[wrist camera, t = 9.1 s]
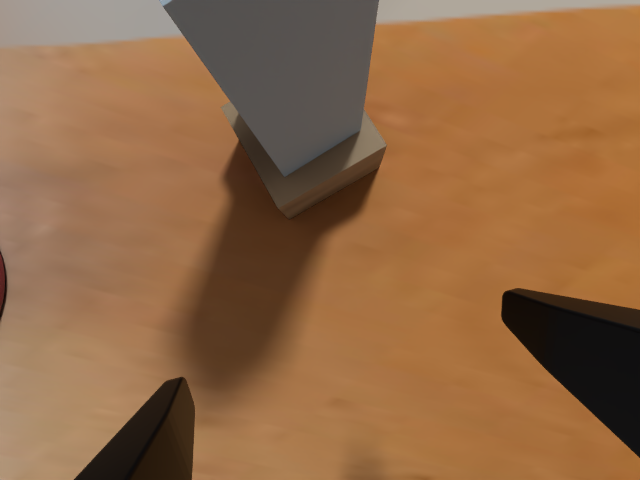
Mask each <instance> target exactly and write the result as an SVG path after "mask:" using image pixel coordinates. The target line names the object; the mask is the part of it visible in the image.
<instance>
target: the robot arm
mask: <svg viewBox="0 0 640 480" xmlns="http://www.w3.org/2000/svg"><path fill="white" fill-rule="evenodd" d="M501 317H502V320H503V322H504V324H505V325H506V326H507V327H508V328H509V330H510V331H511V332H512V333H513V334H514V335H515V336H516V337H517V338H518V340H519V341H520V342H521V343H522V344H523V345H524V346H525V347H526V348H527V350H528V351H529V352H530V353H531V354H532V355H533V356H534V357H535V358H536V360H537V361H538V362H539V363H540V364H541V365H542V366H543V367H544V368H545V369H546V370H547V371H548V372H549V373H550V374H551V375H552V376H553V377H554V378H556V379H557V380H558V381H559V382H560V383H561V384H562V385H563V386H564V387H565V388H566V389H567V390H568V391H569V392H570V393H571V394H572V395H574V396H575V397H576V398H577V399H578V400H579V401H580V402H581V403H582V404H583V405H584V406H585V407H586V408H587V409H588V410H589V411H591V412H592V413H593V414H594V415H595V416H596V417H597V418H598V419H599V420H600V421H601V422H602V423H603V424H604V425H605V426H606V427H608V428H609V429H610V430H611V431H612V432H613V433H614V434H615V435H616V436H617V437H618V438H619V439H620V440H621V441H622V442H623V443H625V444H626V445H627V446H628V447H629V448H630V449H631V450H632V451H633V452H634V453H635V454H636V455H637V456H638V457H639V458H640V310H638V309H632V308H627V307H621V306H615V305H610V304H604V303H599V302H593V301H588V300H582V299H576V298H571V297H565V296H560V295H554V294H549V293H543V292H537V291H532V290H526V289H521V288H515V289H512V290H508V291H505V292H504V293H503V296H502V311H501ZM194 422H195V407H194V402H193V399H192V396H191V393H190V390H189V387H188V384H187V381H186V379H185V378H184V377H179V378H175V379H171V380H168V381H166V382H165V383H163V384H162V386H161V387H160V388H159V389H158V390H157V391H156V392H155V393H154V394H153V395H152V396H151V397H150V398H149V400H148V401H147V402H146V403H145V404H144V405H143V406H142V407H141V408H140V409H139V410H138V411H137V412H136V413H135V415H134V416H133V417H132V418H131V419H130V420H129V421H128V422H127V423H126V424H125V425H124V426H123V427H122V429H121V430H120V431H119V432H118V433H117V434H116V435H115V436H114V437H113V438H112V439H111V440H110V441H109V442H108V444H107V445H106V446H105V447H104V448H103V449H102V450H101V451H100V452H99V453H98V454H97V455H96V456H95V457H94V459H93V460H92V461H91V462H90V463H89V464H88V465H87V466H86V467H85V468H84V469H83V470H82V471H81V473H80V474H79V475H78V476H77V477H76V478H75V479H74V480H192V467H193V444H194Z"/></svg>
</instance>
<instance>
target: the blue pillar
mask: <svg viewBox="0 0 640 480" xmlns="http://www.w3.org/2000/svg"><path fill="white" fill-rule="evenodd" d="M159 1H160V2H161V4H162V6H163V7H164V9H165V10H166V11H167V13H168V14H169V16H170V17H171V18H172V20H173V21H174V23H175V24H176V25H177V27H178V28H179V30H180V31H181V32H182V34H183V35H184V37H185V38H186V39H187V41H188V42H189V44H190V45H191V46H192V48H193V49H194V51H195V52H196V54H197V55H198V56H199V58H200V59H201V61H202V62H203V63H204V65H205V66H206V68H207V69H208V70H209V72H210V73H211V75H212V76H213V77H214V79H215V80H216V82H217V83H218V84H219V86H220V87H221V89H222V90H223V91H224V93H225V94H226V96H227V97H228V98H229V100H230V101H231V103H232V104H233V105H234V107H235V108H236V110H237V111H238V113H239V114H240V115H241V117H242V118H243V120H244V121H245V122H246V124H247V125H248V127H249V128H250V129H251V131H252V132H253V134H254V135H255V136H256V138H257V139H258V141H259V142H260V143H261V145H262V146H263V148H264V149H265V150H266V152H267V153H268V155H269V156H270V157H271V159H272V160H273V162H274V163H275V165H276V166H277V167H278V169H279V170H280V172H281V173H282V174H283V176H284V177H286V176H287V175H289V174H290V173H292V172H294V171H295V170H297V169H299V168H300V167H302V166H303V165H305V164H307V163H308V162H310V161H312V160H313V159H315V158H316V157H318V156H320V155H321V154H323V153H324V152H326V151H328V150H329V149H331V148H333V147H334V146H336V145H337V144H339V143H341V142H342V141H344V140H346V139H347V138H349V137H350V136H352V135H354V134H355V133H357V132H359V131H360V130H361V125H362V118H363V110H364V103H365V96H366V89H367V82H368V74H369V67H370V60H371V53H372V45H373V38H374V31H375V24H376V16H377V9H378V2H379V0H159Z"/></svg>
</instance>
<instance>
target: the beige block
mask: <svg viewBox="0 0 640 480" xmlns="http://www.w3.org/2000/svg"><path fill="white" fill-rule="evenodd" d="M221 109H222V110H223V112H224V114H225V116H226V117H227V119H228V121H229V123H230V124H231V126H232V128H233V130H234V132H235V133H236V135H237V137H238V139H239V140H240V142H241V144H242V146H243V148H244V149H245V151H246V153H247V155H248V156H249V158H250V160H251V162H252V163H253V165H254V167H255V169H256V171H257V172H258V174H259V176H260V178H261V179H262V181H263V183H264V185H265V186H266V188H267V190H268V192H269V194H270V195H271V197H272V199H273V201H274V202H275V204H276V206H277V208H278V209H279V210H280V211H281V212H282V213H283V214H284V215H285V216H286V217H287V218H288V219H291V218H293V217H295V216H296V215H298V214H300V213H302V212H303V211H305V210H307V209H308V208H310V207H312V206H314V205H315V204H317V203H319V202H321V201H322V200H324V199H326V198H327V197H329V196H331V195H333V194H334V193H336V192H338V191H339V190H341V189H343V188H345V187H346V186H348V185H350V184H352V183H353V182H355V181H357V180H358V179H360V178H362V177H364V176H365V175H367V174H369V173H371V172H372V171H374V170H376V169H377V168H379V167H380V164H381V161H382V158H383V155H384V152H385V149H386V146H387V145H386V143H385V142H384V140H383V138H382V137H381V135H380V134H379V132H378V130H377V129H376V127H375V126H374V124H373V123H372V121H371V119H370V118H369V116H368V115H367V113H366V112H365V110H363V118H362V125H361V130H360V131H359V132H357V133H355V134H354V135H352V136H350V137H349V138H347V139H346V140H344V141H342V142H341V143H339V144H337V145H336V146H334V147H333V148H331V149H329V150H328V151H326V152H324V153H323V154H321V155H320V156H318V157H316V158H315V159H313V160H312V161H310V162H308V163H307V164H305V165H303V166H302V167H300V168H299V169H297V170H295V171H294V172H292V173H290V174H289V175H287V176H286V177H284V176H283V174H282V173H281V172H280V170H279V169H278V167H277V166H276V165H275V163H274V162H273V160H272V159H271V157H270V156H269V155H268V153H267V152H266V150H265V149H264V148H263V146H262V145H261V143H260V142H259V141H258V139H257V138H256V136H255V135H254V134H253V132H252V131H251V129H250V128H249V127H248V125H247V124H246V122H245V121H244V120H243V118H242V117H241V115H240V114H239V113H238V111H237V110H236V108H235V107H234V105H233V104H232V103H231V101H230V102H229V103H227V104H225V105H224V106H222V107H221Z"/></svg>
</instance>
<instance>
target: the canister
mask: <svg viewBox="0 0 640 480" xmlns="http://www.w3.org/2000/svg"><path fill="white" fill-rule="evenodd" d="M4 291H5V273H4V266H3V261H2V257H1V254H0V311H1V307H2V303H3V298H4Z"/></svg>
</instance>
